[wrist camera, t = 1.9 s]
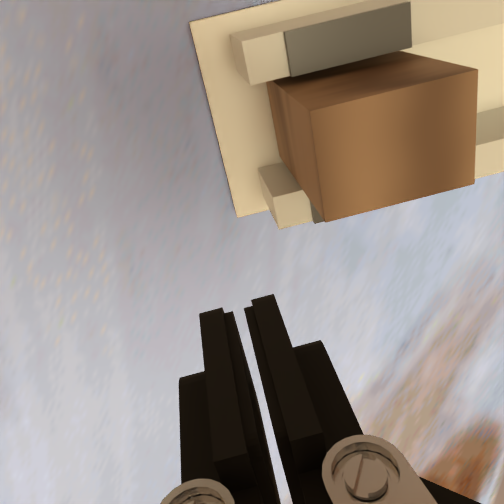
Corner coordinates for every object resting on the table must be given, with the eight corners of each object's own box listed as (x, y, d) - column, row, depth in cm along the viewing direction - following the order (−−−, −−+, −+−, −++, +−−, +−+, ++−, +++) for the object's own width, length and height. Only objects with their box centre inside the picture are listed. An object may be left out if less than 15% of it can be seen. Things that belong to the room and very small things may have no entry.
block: (279, 156, 30) (325, 222, 21) (264, 74, 27) (309, 111, 19) (385, 129, 30) (474, 183, 21) (380, 46, 28) (478, 69, 19)
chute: (235, 211, 32) (249, 256, 27) (188, 22, 27) (194, 29, 21) (592, 120, 33) (677, 145, 28) (624, -83, 27) (739, -103, 22)
